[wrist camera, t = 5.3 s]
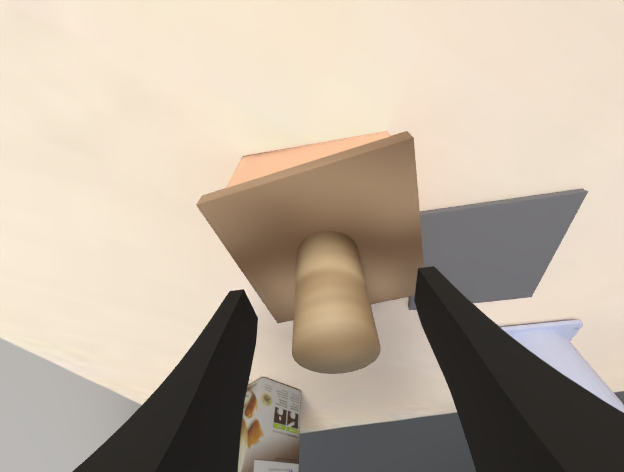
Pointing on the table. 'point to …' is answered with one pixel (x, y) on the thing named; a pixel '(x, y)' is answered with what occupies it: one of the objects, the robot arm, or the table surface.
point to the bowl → (294, 157)
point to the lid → (328, 246)
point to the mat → (497, 243)
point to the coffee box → (270, 428)
